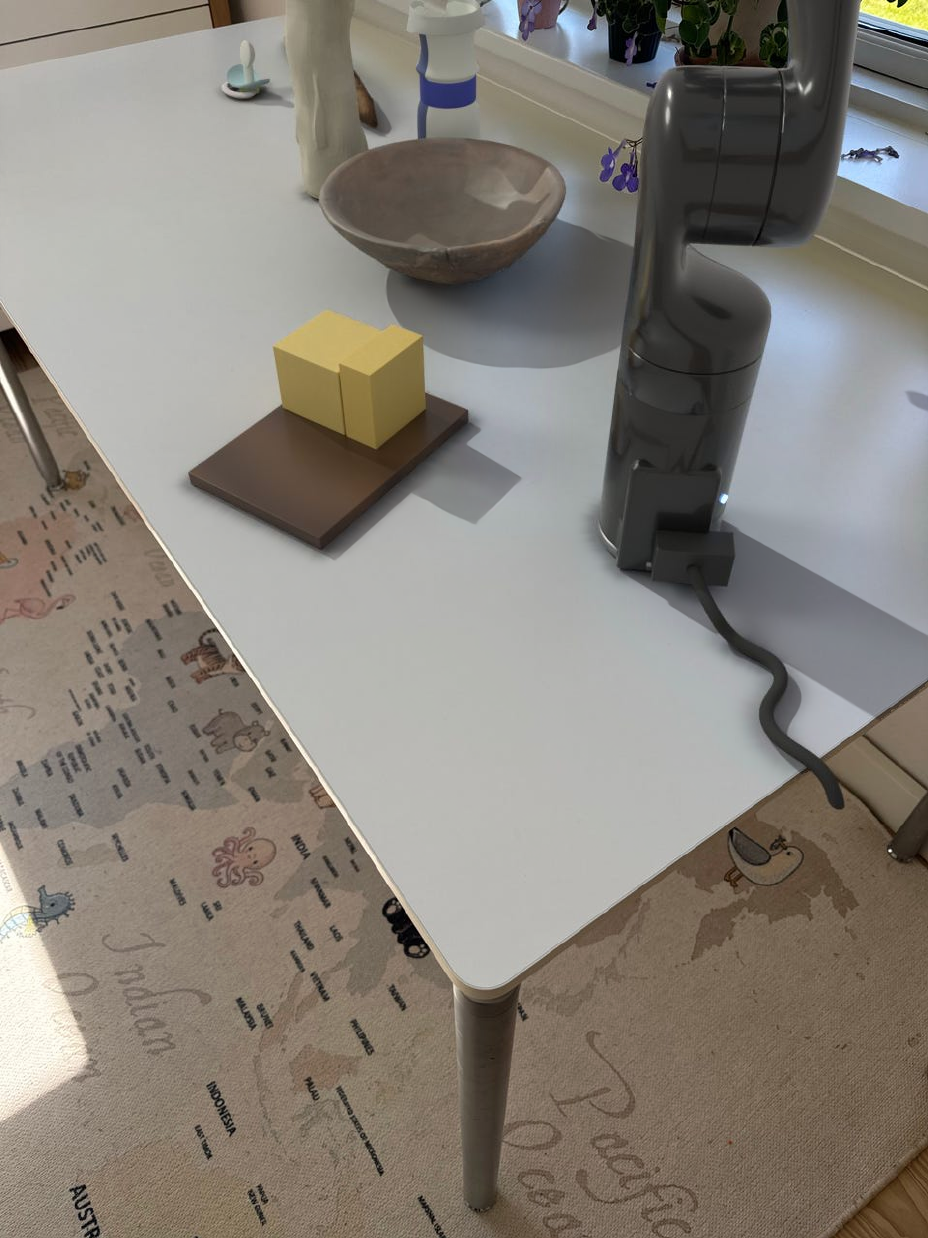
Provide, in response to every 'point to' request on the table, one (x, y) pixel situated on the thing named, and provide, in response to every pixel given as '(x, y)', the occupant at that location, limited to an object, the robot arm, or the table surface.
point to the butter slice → (383, 385)
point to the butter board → (319, 469)
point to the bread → (364, 103)
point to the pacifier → (244, 75)
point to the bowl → (443, 205)
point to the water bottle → (447, 69)
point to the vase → (323, 87)
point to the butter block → (318, 366)
